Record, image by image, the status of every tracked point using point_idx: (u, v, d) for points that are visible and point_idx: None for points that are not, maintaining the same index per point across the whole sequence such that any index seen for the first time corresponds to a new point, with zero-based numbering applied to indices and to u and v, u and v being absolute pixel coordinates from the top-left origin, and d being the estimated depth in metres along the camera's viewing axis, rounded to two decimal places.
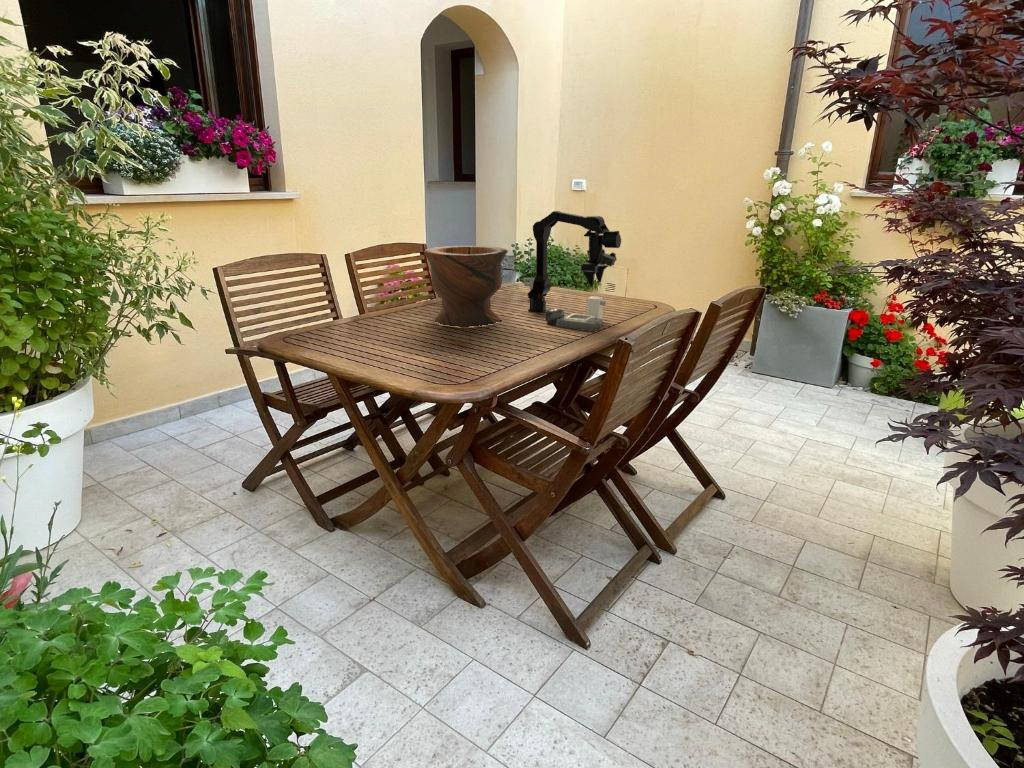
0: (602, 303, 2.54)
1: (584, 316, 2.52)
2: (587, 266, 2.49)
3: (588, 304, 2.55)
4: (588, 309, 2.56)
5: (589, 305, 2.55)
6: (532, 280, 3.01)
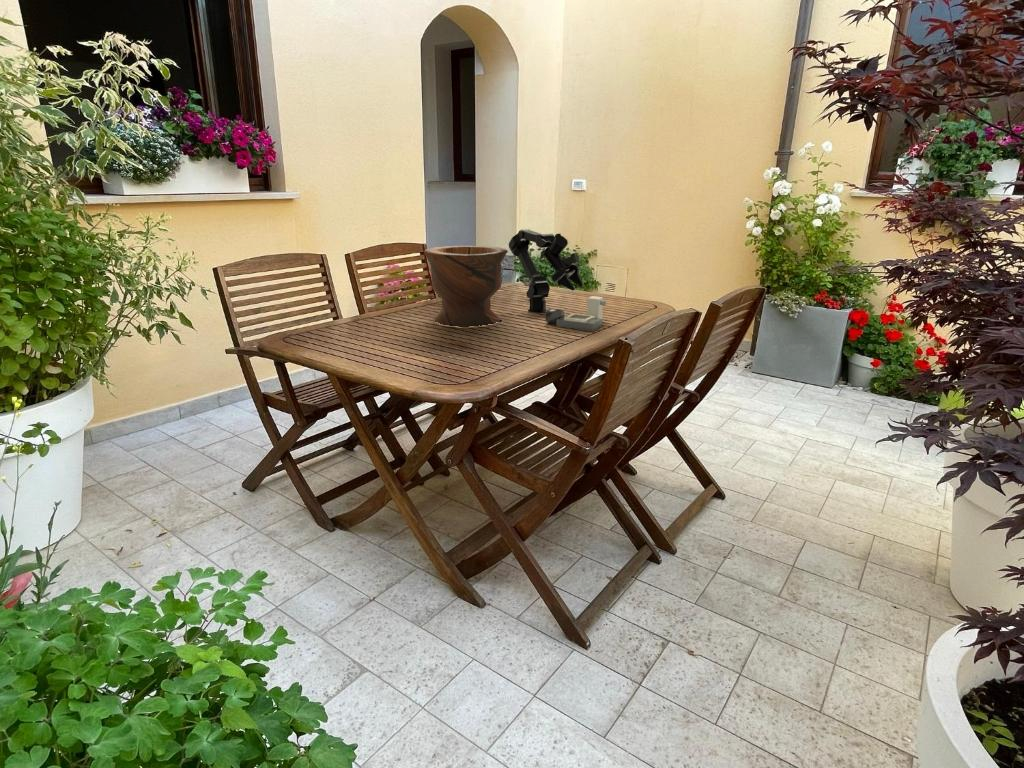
0: (602, 303, 2.54)
1: (584, 316, 2.52)
2: (555, 274, 2.51)
3: (588, 304, 2.55)
4: (588, 309, 2.56)
5: (589, 305, 2.55)
6: None
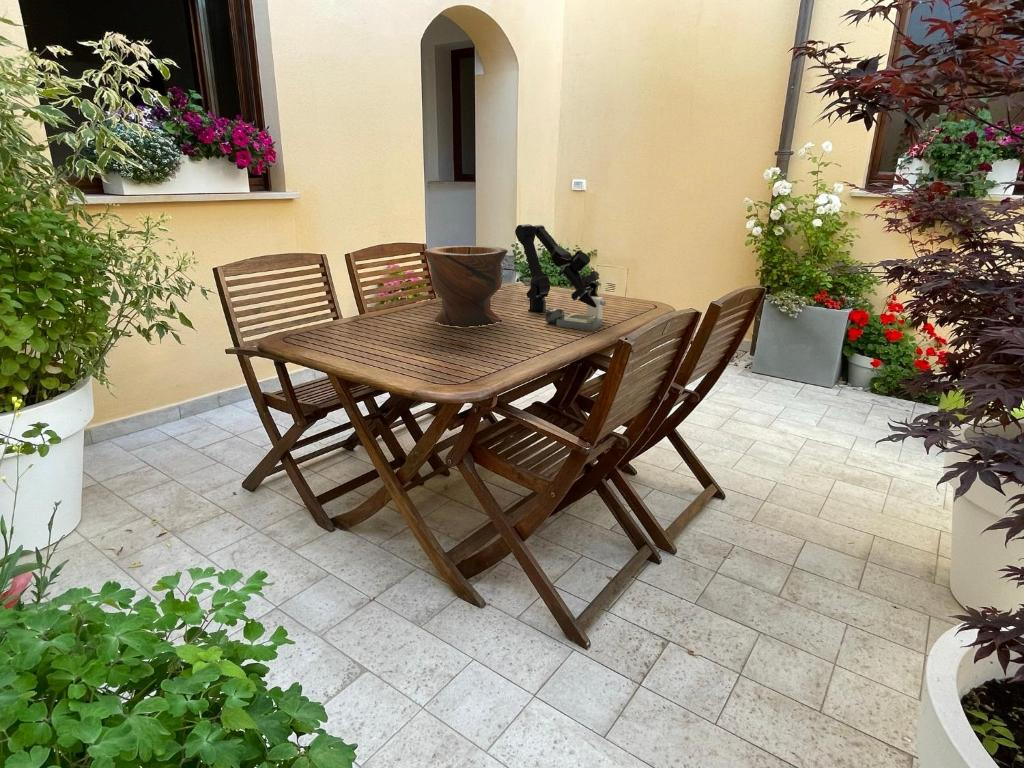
0: (602, 303, 2.54)
1: (584, 316, 2.52)
2: (575, 292, 2.49)
3: None
4: (588, 309, 2.56)
5: (589, 305, 2.55)
6: None
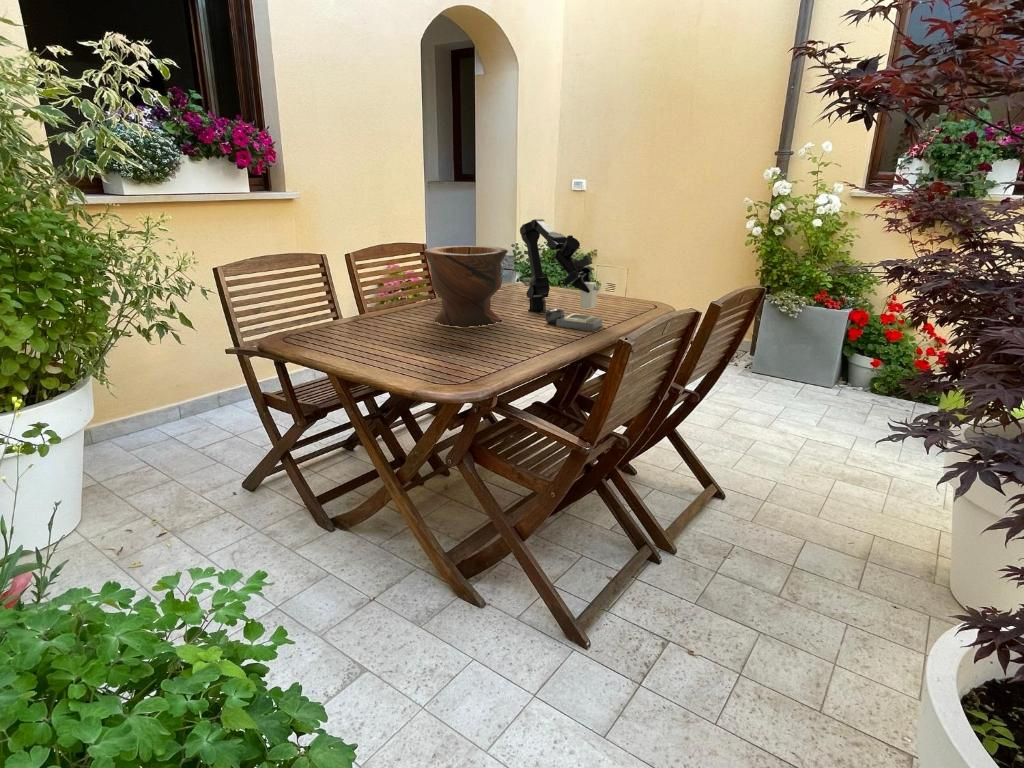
0: (596, 288, 2.47)
1: (584, 316, 2.52)
2: (568, 277, 2.42)
3: None
4: (581, 294, 2.49)
5: None
6: None
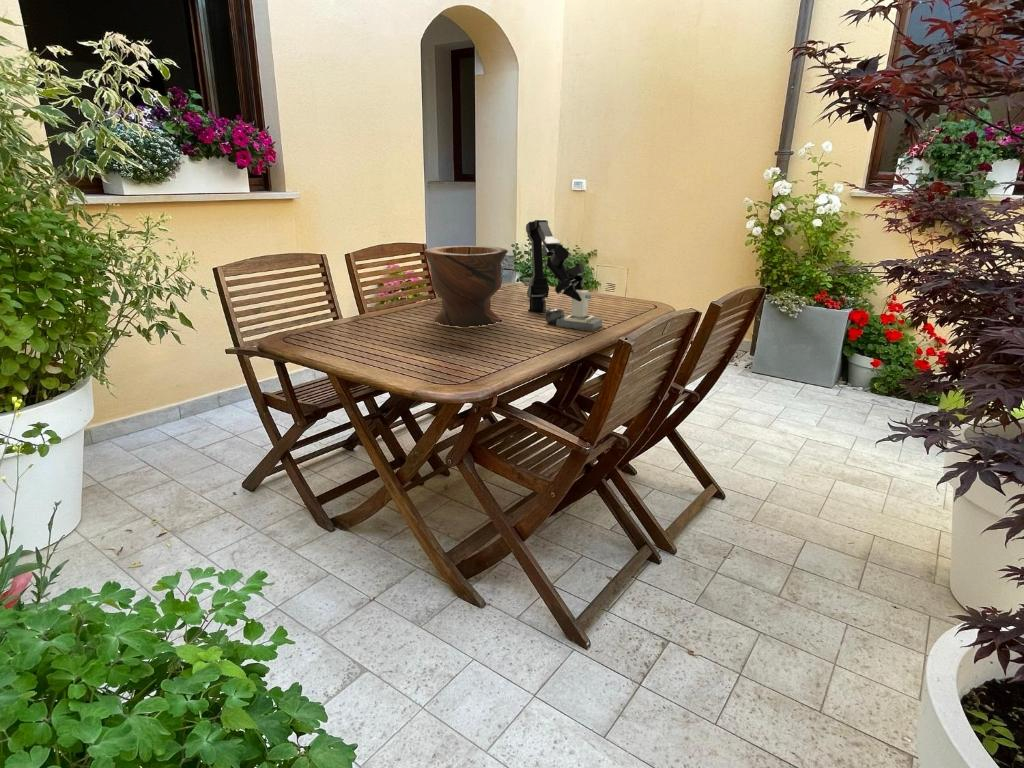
0: (587, 297, 2.44)
1: (584, 316, 2.52)
2: (559, 285, 2.39)
3: None
4: (573, 303, 2.46)
5: (574, 299, 2.45)
6: None
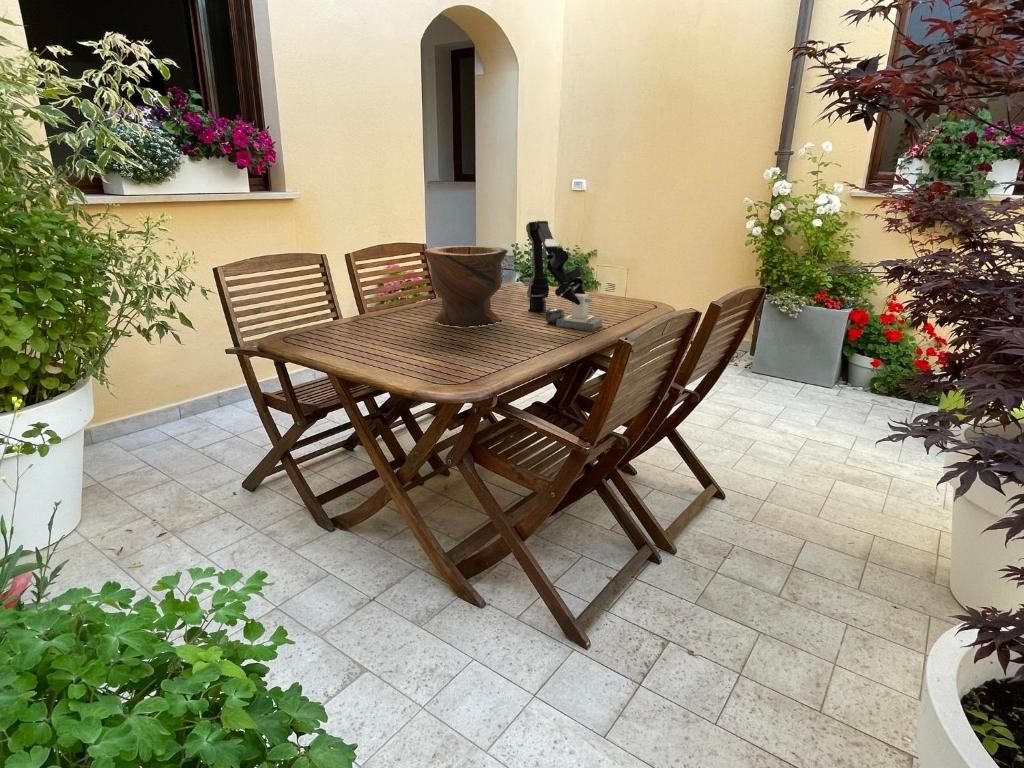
0: (587, 300, 2.44)
1: None
2: (559, 288, 2.39)
3: None
4: (573, 307, 2.46)
5: None
6: None
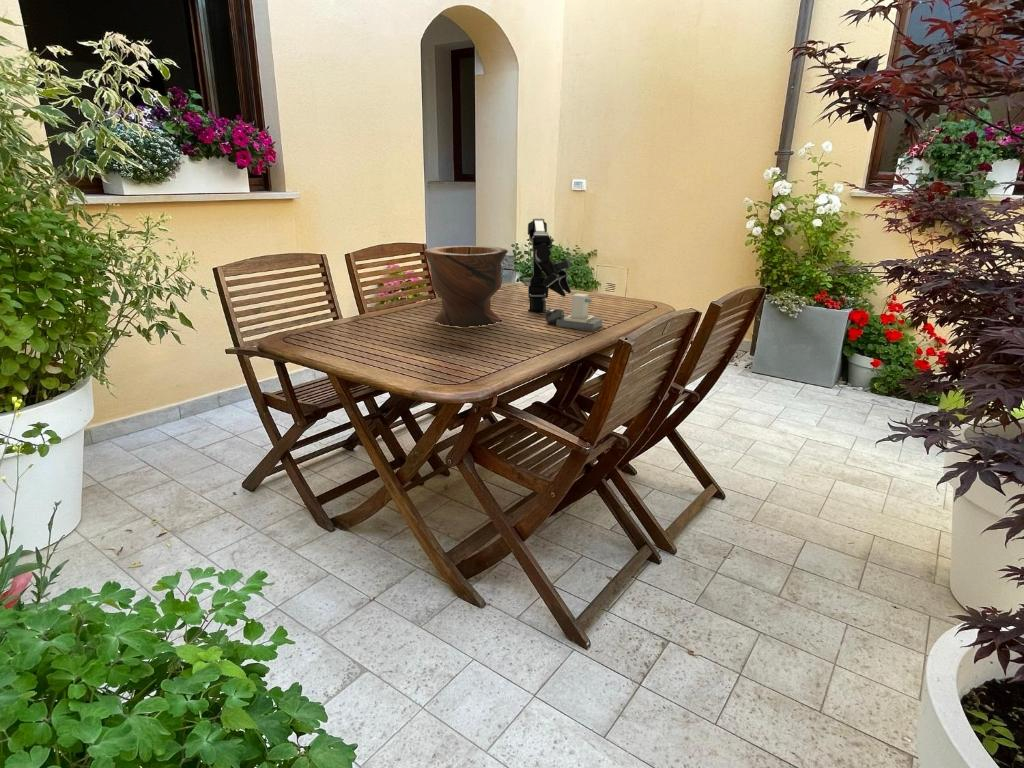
0: (587, 300, 2.44)
1: None
2: (548, 278, 2.43)
3: (573, 301, 2.45)
4: (573, 307, 2.46)
5: (574, 302, 2.45)
6: None
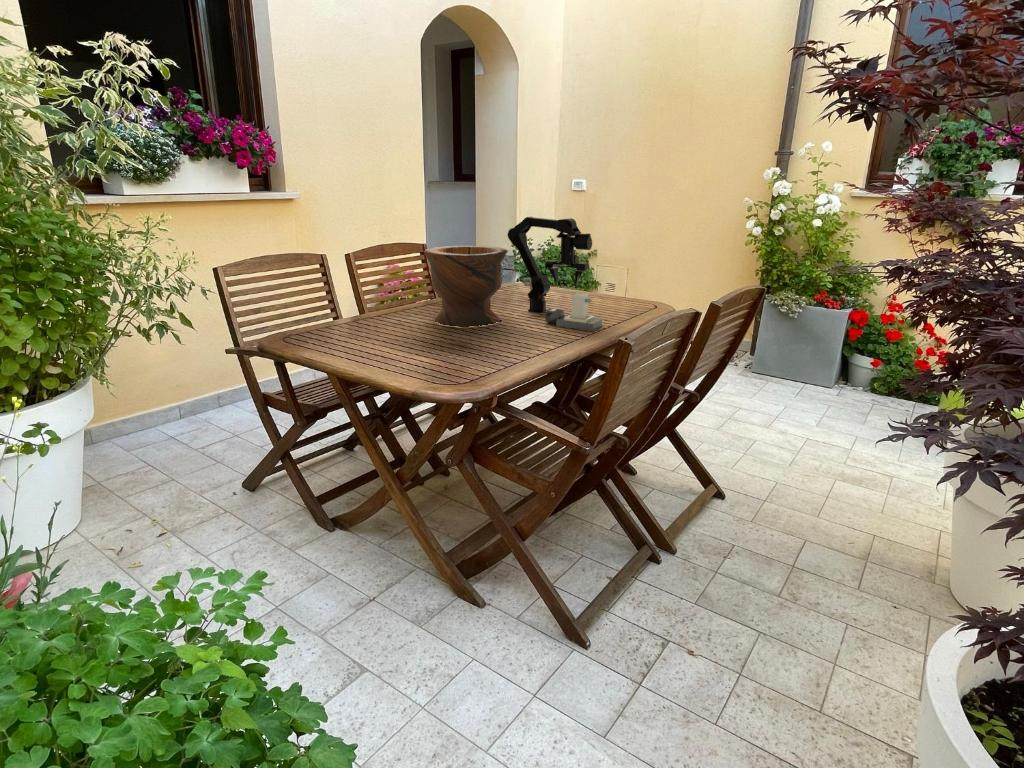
0: (587, 300, 2.44)
1: None
2: (587, 265, 2.60)
3: (573, 301, 2.45)
4: (573, 307, 2.46)
5: (574, 302, 2.45)
6: None
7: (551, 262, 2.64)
